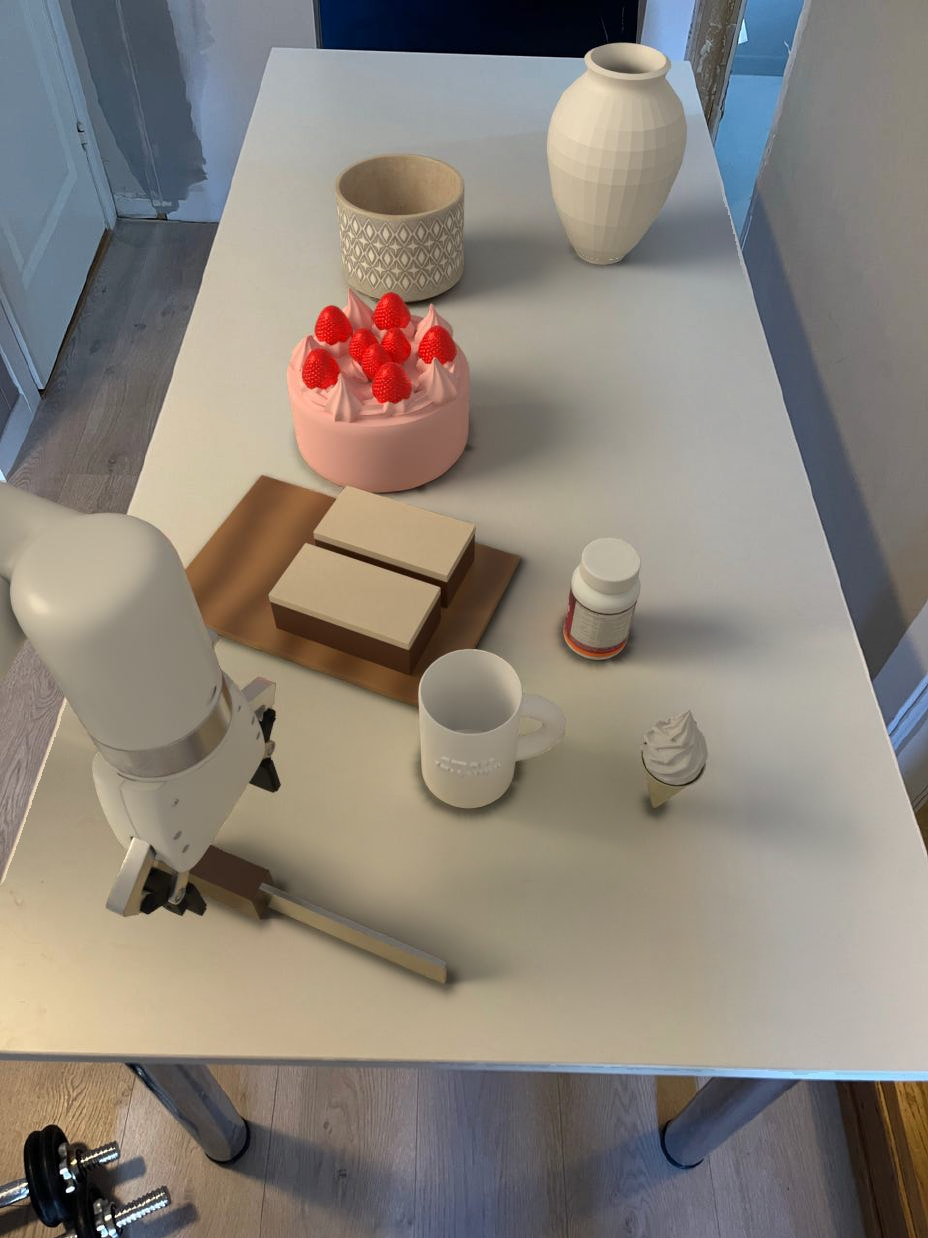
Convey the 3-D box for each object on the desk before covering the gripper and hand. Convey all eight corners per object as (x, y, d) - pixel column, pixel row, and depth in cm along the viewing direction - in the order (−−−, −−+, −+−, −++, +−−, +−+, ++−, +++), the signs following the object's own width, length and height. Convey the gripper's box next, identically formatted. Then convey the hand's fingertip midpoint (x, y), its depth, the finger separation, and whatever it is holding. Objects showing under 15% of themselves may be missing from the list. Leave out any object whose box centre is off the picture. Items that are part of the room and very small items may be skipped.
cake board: (158, 612, 88) (155, 606, 87) (263, 481, 100) (261, 474, 99) (441, 716, 81) (440, 710, 81) (519, 562, 93) (519, 555, 92)
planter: (439, 320, 118) (438, 227, 108) (324, 295, 122) (313, 203, 112) (478, 255, 128) (481, 165, 118) (371, 234, 131) (364, 144, 121)
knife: (161, 876, 72) (148, 855, 69) (179, 847, 73) (167, 826, 70) (438, 999, 67) (438, 982, 63) (452, 965, 68) (452, 948, 65)
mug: (566, 805, 76) (583, 731, 67) (424, 815, 75) (421, 742, 66) (552, 721, 81) (566, 642, 72) (419, 730, 80) (415, 651, 71)
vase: (682, 277, 125) (726, 81, 106) (560, 293, 123) (582, 95, 103) (636, 212, 136) (668, 23, 116) (523, 226, 133) (536, 35, 113)
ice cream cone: (621, 777, 78) (652, 679, 66) (681, 779, 78) (722, 681, 66) (626, 832, 75) (659, 739, 63) (688, 834, 75) (733, 742, 63)
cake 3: (276, 628, 86) (267, 594, 82) (311, 576, 90) (305, 542, 86) (410, 676, 83) (408, 643, 79) (441, 620, 87) (440, 587, 83)
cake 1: (370, 362, 113) (361, 255, 102) (504, 424, 106) (510, 317, 95) (261, 447, 103) (238, 340, 92) (401, 523, 96) (394, 417, 85)
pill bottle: (577, 602, 90) (591, 523, 81) (635, 625, 88) (657, 546, 79) (552, 647, 86) (564, 569, 77) (613, 672, 85) (632, 595, 76)
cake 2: (318, 566, 91) (313, 531, 87) (350, 519, 95) (346, 484, 91) (447, 609, 88) (447, 575, 84) (474, 559, 92) (475, 525, 88)
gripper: (189, 577, 55) (243, 724, 69) (-3, 819, 46) (104, 935, 59) (297, 614, 54) (330, 757, 67) (122, 874, 44) (202, 981, 57)
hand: (224, 840), depth 63 cm, fingers open, 9 cm apart
